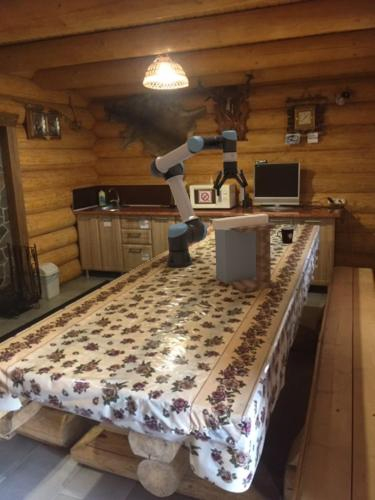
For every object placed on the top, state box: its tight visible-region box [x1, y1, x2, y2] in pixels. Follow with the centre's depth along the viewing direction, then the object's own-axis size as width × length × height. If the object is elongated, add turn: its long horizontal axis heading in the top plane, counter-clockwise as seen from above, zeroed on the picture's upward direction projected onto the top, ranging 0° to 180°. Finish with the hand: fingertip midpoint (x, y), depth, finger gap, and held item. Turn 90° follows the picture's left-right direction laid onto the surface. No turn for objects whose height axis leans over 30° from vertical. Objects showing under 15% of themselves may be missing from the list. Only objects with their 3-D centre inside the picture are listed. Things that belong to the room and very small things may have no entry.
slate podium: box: [214, 228, 256, 285], centre depth 212 cm, size 17×12×27 cm
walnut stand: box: [229, 221, 277, 293], centre depth 199 cm, size 18×12×30 cm, turn 110°
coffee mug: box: [276, 226, 295, 245], centre depth 286 cm, size 12×9×10 cm
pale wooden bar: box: [211, 213, 269, 230], centre depth 193 cm, size 26×5×4 cm, turn 110°
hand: (231, 201), depth 228 cm, fingers open, 13 cm apart
